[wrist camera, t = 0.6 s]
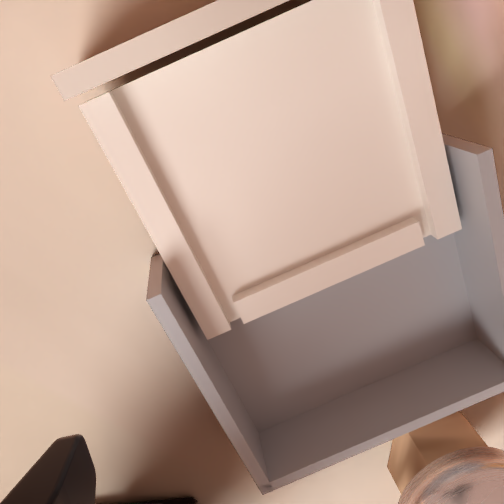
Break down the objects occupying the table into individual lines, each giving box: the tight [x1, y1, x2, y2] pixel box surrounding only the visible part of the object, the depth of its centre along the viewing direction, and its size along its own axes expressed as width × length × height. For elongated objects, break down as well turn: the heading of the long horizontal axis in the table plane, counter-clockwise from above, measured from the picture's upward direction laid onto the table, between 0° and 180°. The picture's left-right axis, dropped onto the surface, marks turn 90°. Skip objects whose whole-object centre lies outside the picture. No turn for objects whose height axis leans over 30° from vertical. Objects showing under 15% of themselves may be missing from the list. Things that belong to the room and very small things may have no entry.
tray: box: [51, 0, 462, 340], centre depth 18 cm, size 12×12×4 cm
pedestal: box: [387, 412, 488, 494], centre depth 26 cm, size 4×4×4 cm
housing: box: [146, 133, 504, 495], centre depth 21 cm, size 12×14×4 cm
